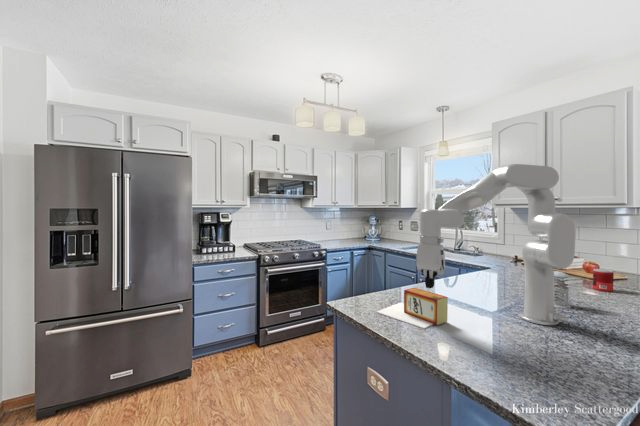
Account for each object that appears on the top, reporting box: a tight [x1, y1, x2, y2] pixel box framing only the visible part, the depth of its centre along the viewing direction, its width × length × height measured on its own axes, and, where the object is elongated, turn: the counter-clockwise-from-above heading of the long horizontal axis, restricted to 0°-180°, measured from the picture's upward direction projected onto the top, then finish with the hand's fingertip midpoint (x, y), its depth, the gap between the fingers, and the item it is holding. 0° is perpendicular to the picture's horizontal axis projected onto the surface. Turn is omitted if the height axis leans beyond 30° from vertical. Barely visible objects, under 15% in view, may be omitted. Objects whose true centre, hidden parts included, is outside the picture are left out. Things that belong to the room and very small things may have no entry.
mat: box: [375, 302, 434, 330], centre depth 121 cm, size 22×18×1 cm
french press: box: [553, 270, 572, 309], centre depth 135 cm, size 10×12×25 cm
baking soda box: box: [403, 287, 449, 326], centre depth 118 cm, size 10×6×16 cm
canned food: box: [592, 268, 614, 293], centre depth 158 cm, size 8×8×11 cm
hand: (429, 287), depth 115 cm, fingers closed
